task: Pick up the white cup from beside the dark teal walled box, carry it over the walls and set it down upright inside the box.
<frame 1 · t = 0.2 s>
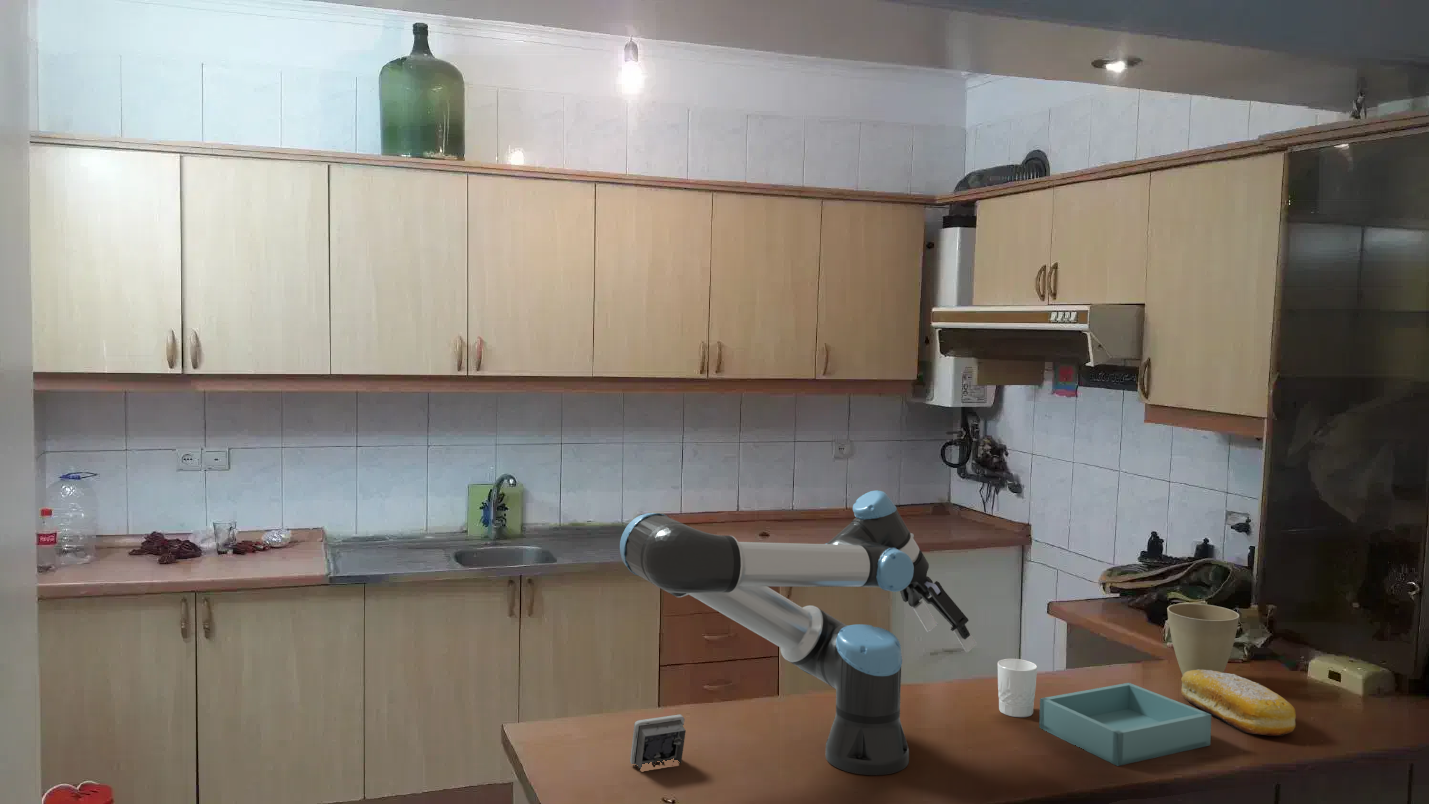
hand: (951, 637, 211), 16 cm above the worktop, tool tilted 35°, fingers open, 13 cm apart
bread: (1234, 718, 212), on the worktop
electrical switch: (660, 768, 184), on the worktop
walled box: (1123, 736, 200), on the worktop
white cup: (1015, 712, 213), on the worktop
plant pot: (1200, 680, 234), on the worktop
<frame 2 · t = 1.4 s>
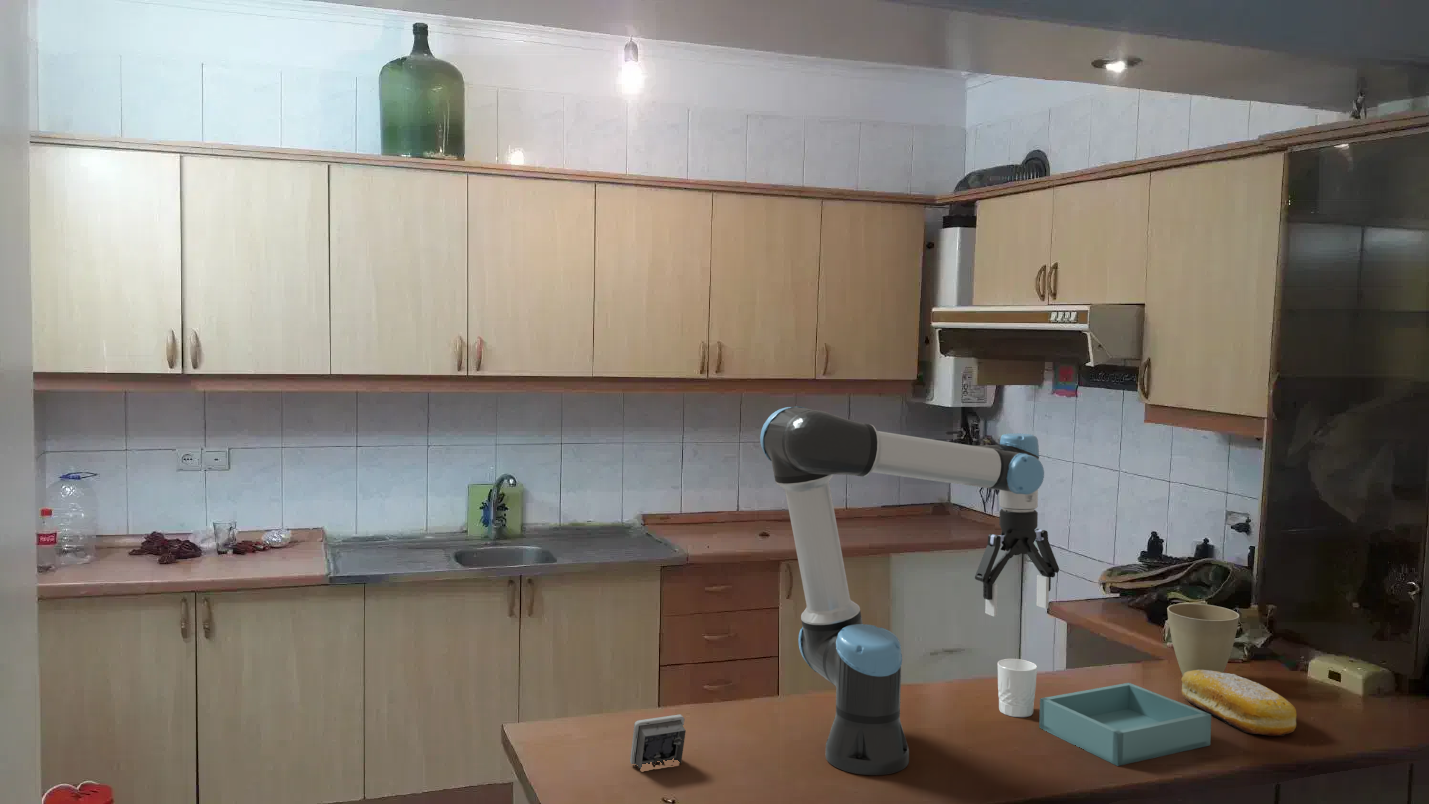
hand: (1017, 611, 212), 21 cm above the worktop, tool pointing down, fingers open, 13 cm apart
nothing on the worktop moved.
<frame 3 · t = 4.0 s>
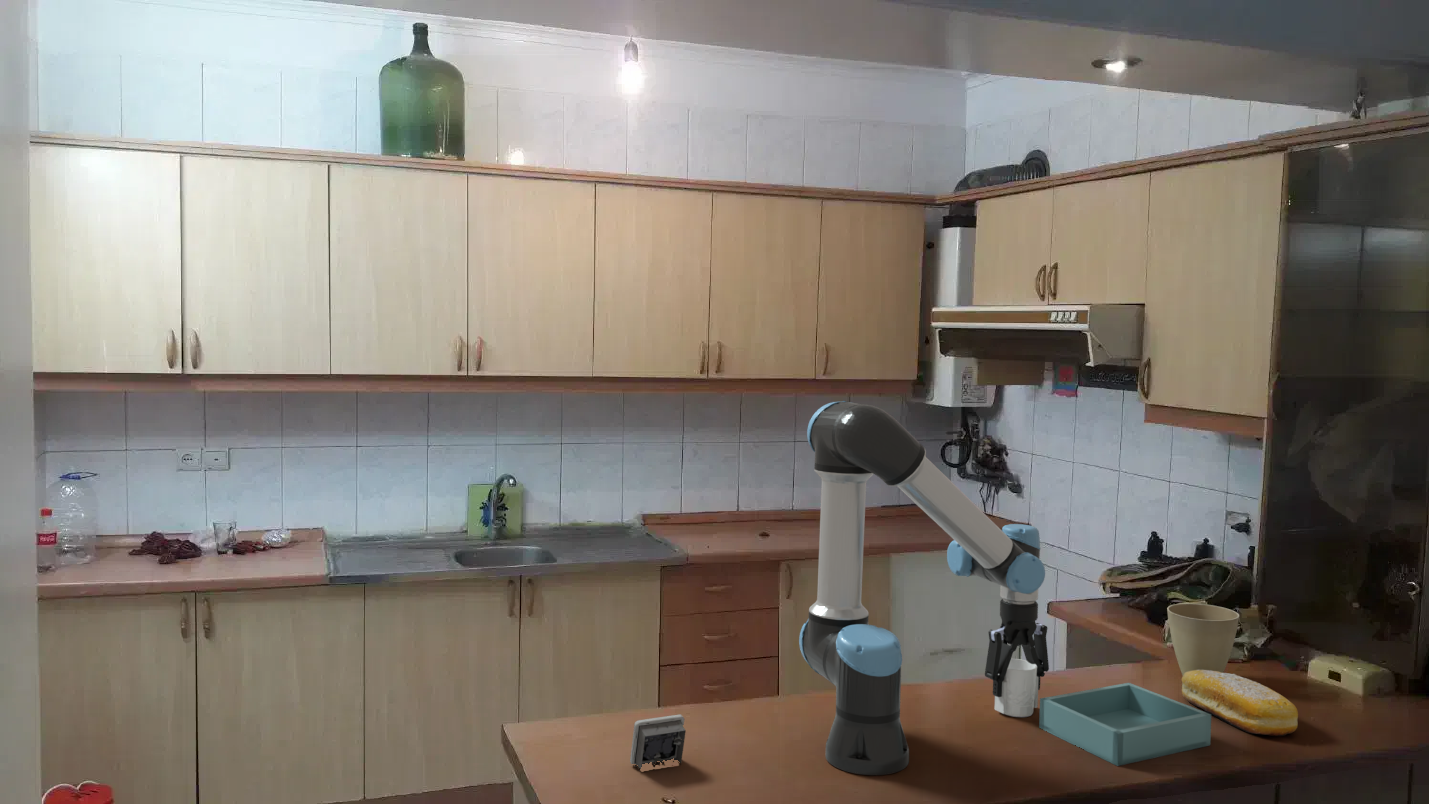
hand: (1016, 708, 213), 1 cm above the worktop, tool pointing down, fingers closed on white cup, 8 cm apart
white cup: (1015, 712, 213), on the worktop, touching gripper
everything else where it was.
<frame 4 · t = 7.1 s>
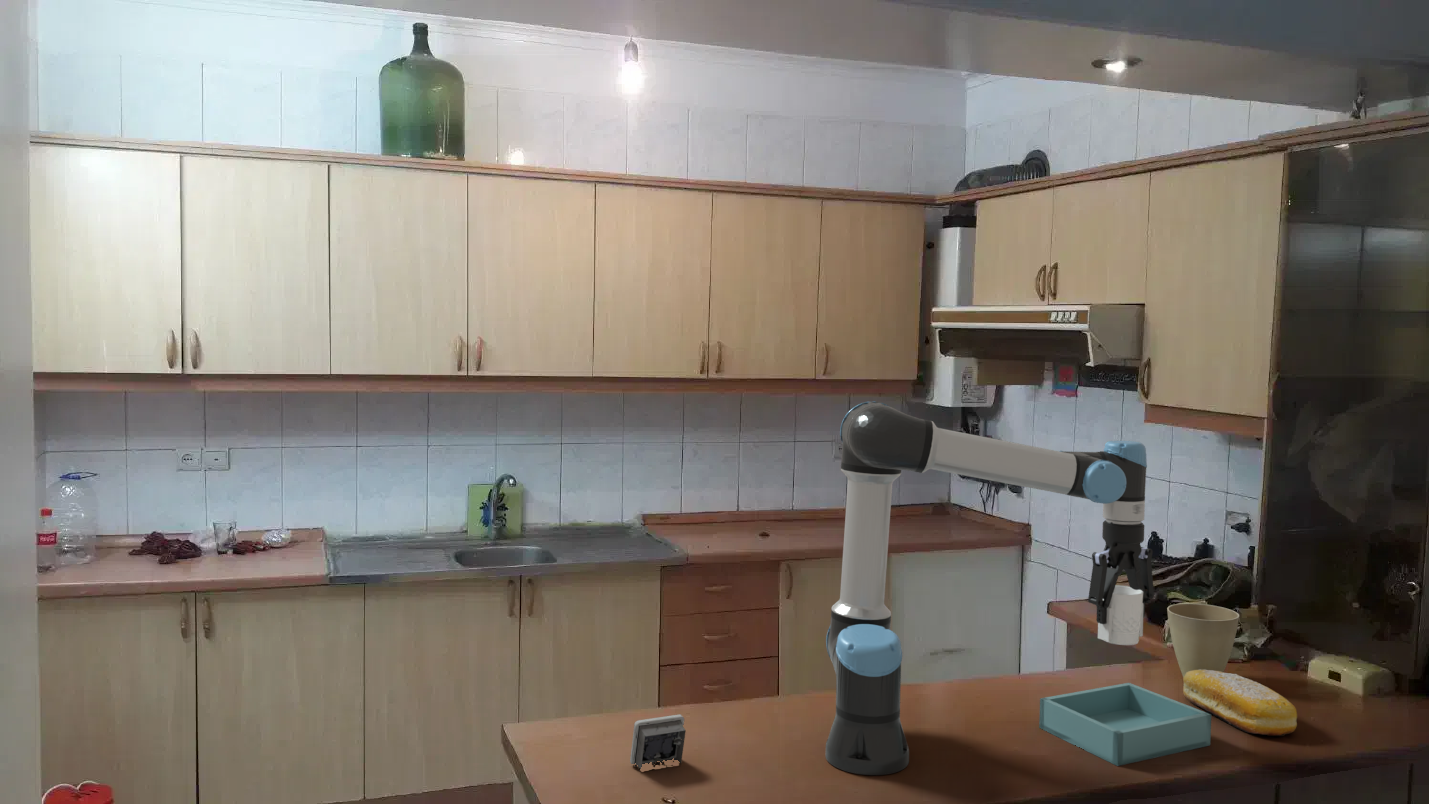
hand: (1120, 637, 200), 19 cm above the worktop, tool pointing down, fingers closed on white cup, 8 cm apart
white cup: (1119, 641, 200), point 19 cm above the worktop, touching gripper
everything else where it was.
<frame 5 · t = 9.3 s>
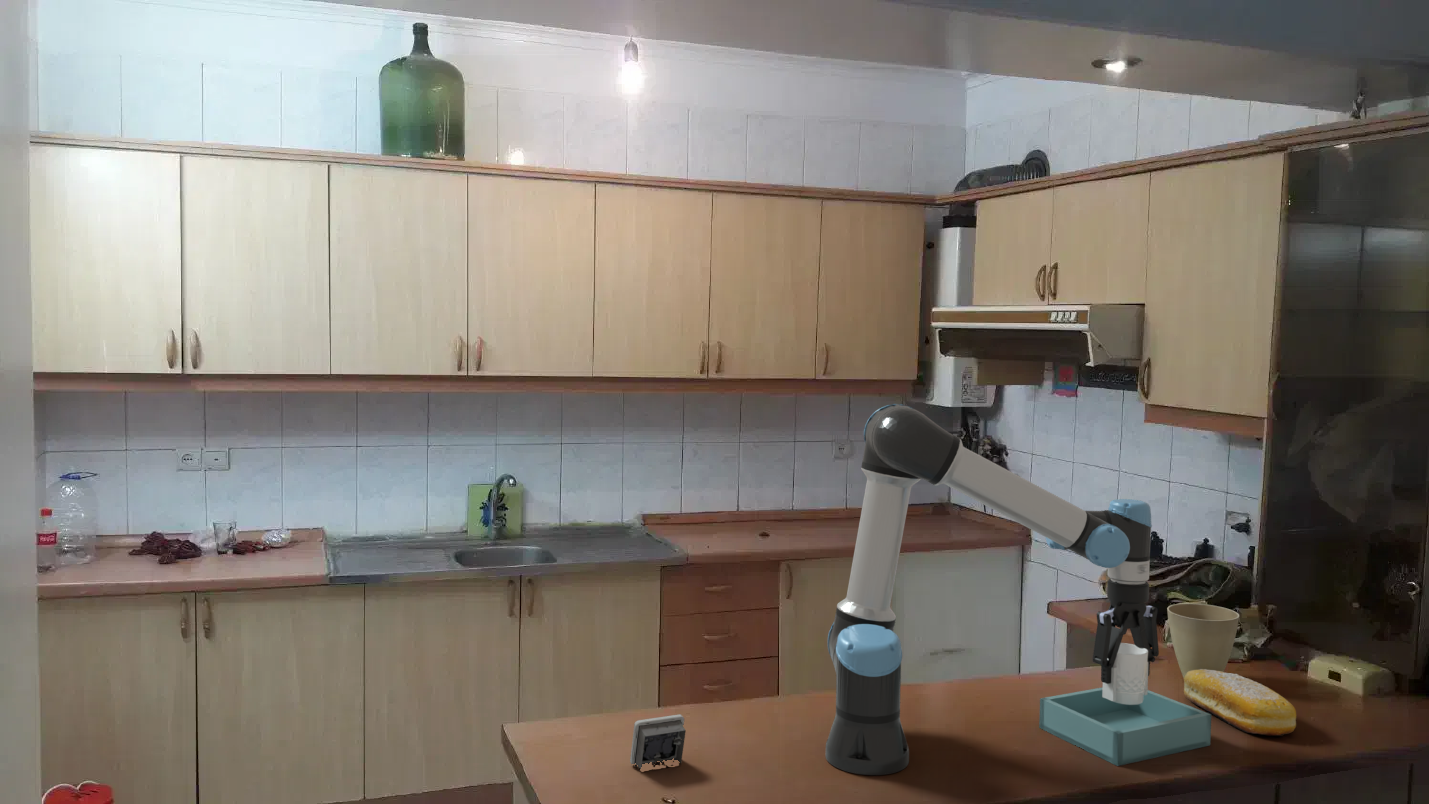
hand: (1124, 695, 199), 8 cm above the worktop, tool pointing down, fingers closed on white cup, 8 cm apart
white cup: (1124, 700, 199), point 7 cm above the worktop, touching gripper
everything else where it was.
when the fingers open (3 cm above the worktop, at t = 10.7 s): white cup drops 1 cm, resting on walled box.
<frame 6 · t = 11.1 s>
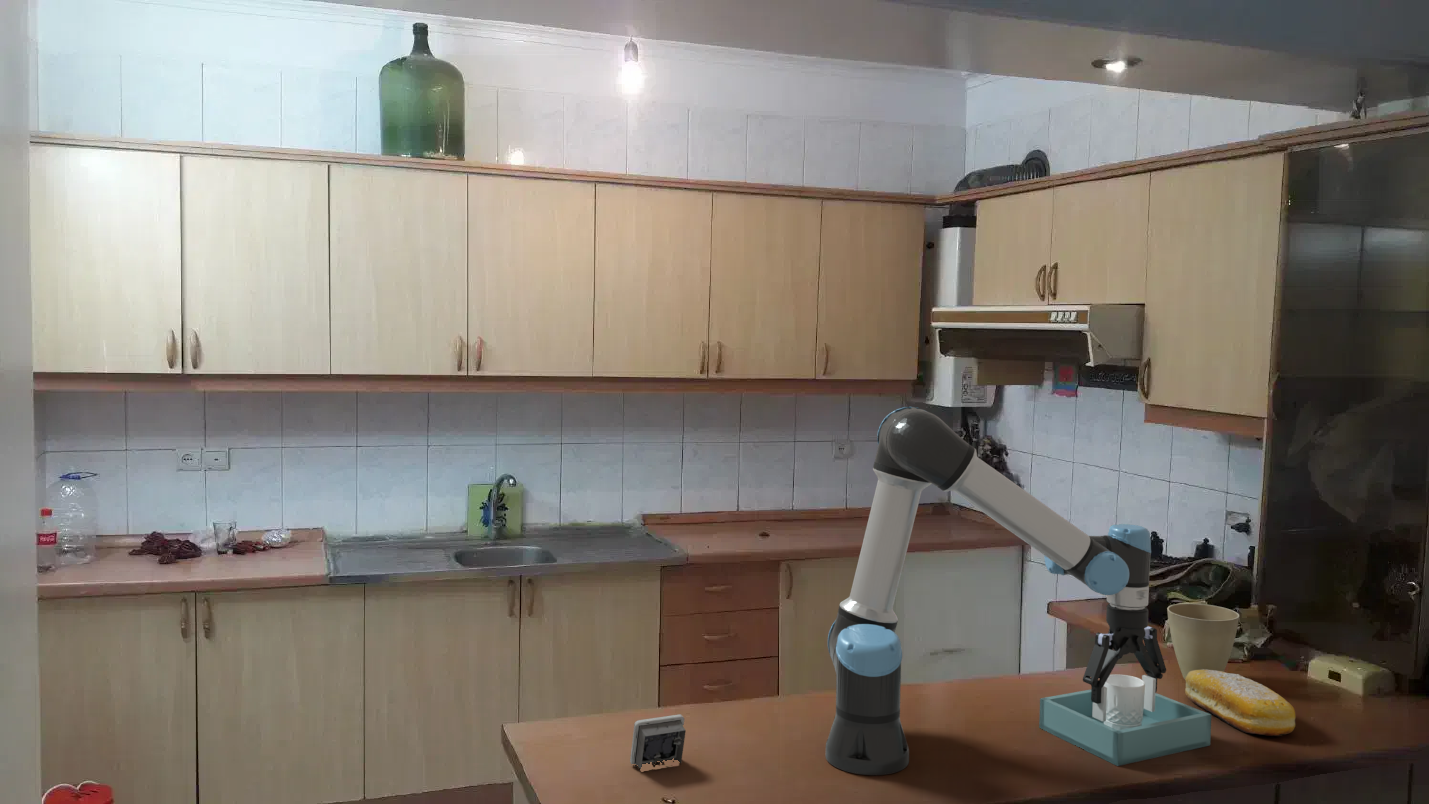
hand: (1123, 714, 200), 4 cm above the worktop, tool pointing down, fingers open, 12 cm apart
white cup: (1122, 732, 200), point 1 cm above the worktop, touching walled box
everything else where it was.
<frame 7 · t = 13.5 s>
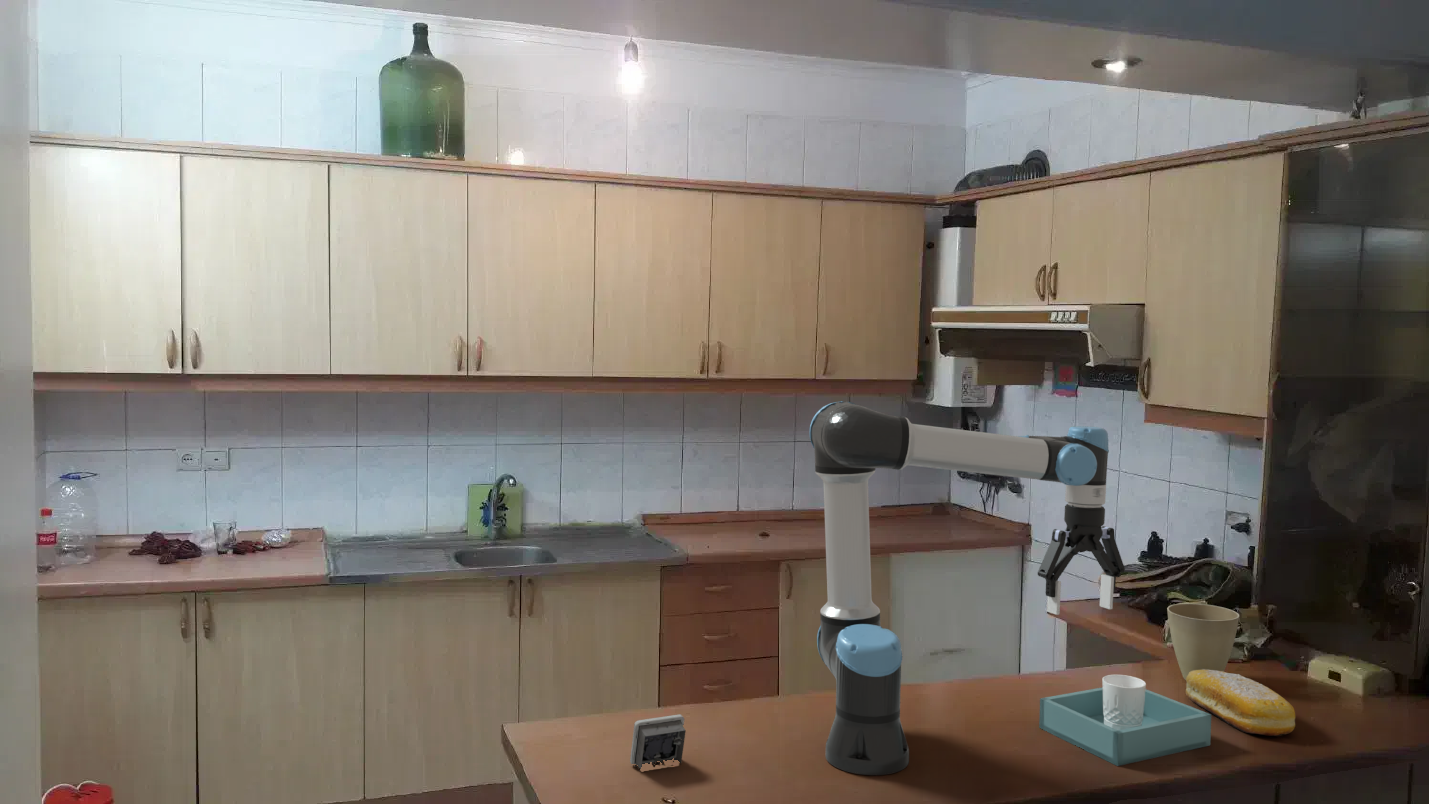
hand: (1079, 610, 204), 23 cm above the worktop, tool pointing down, fingers open, 13 cm apart
nothing on the worktop moved.
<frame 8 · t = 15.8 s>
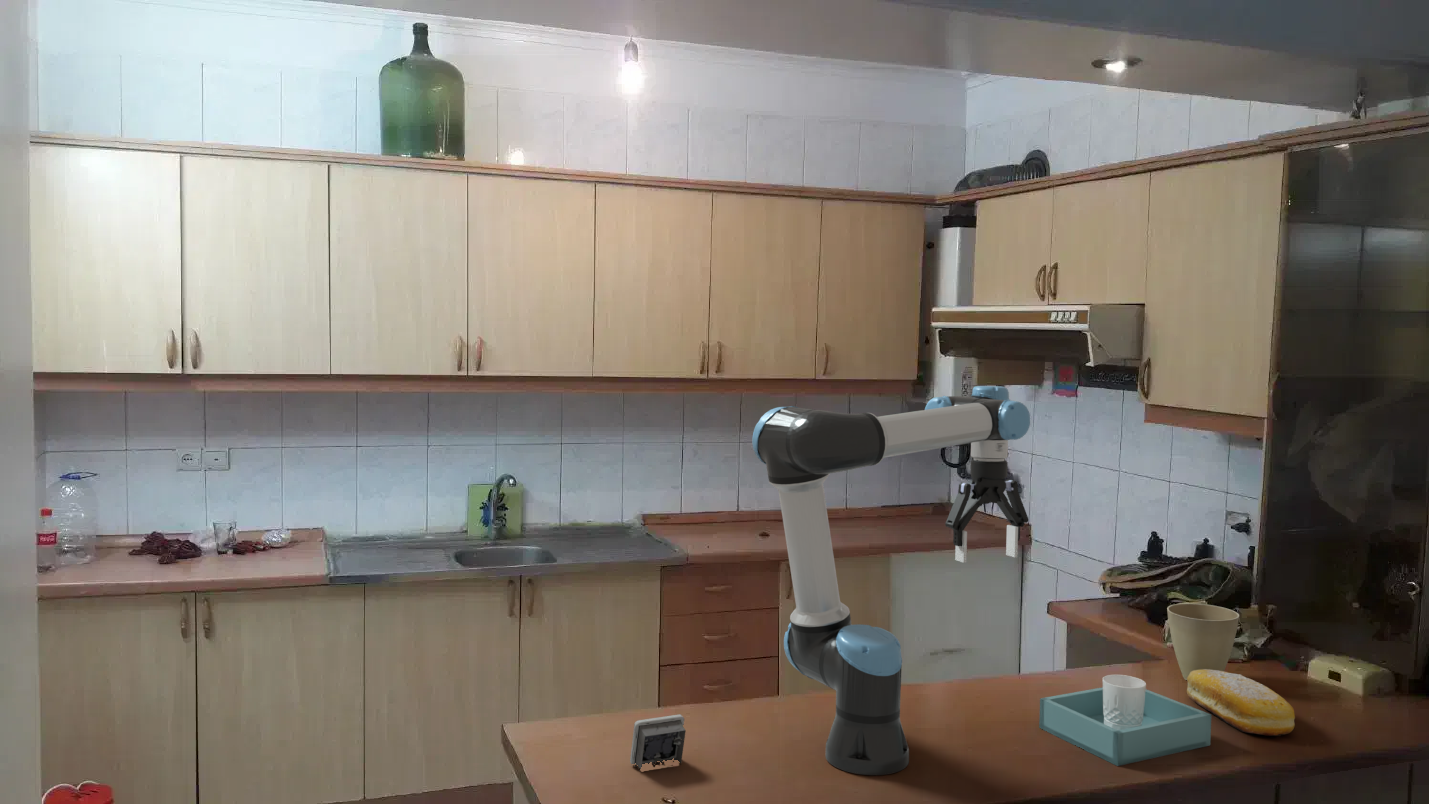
hand: (986, 558, 217), 31 cm above the worktop, tool pointing down, fingers open, 13 cm apart
nothing on the worktop moved.
at the end: white cup inside the target area on the walled box (0.1 cm from its centre), point 0.8 cm above the walled box's base; white cup tilted 0°; the gripper is holding nothing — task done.
